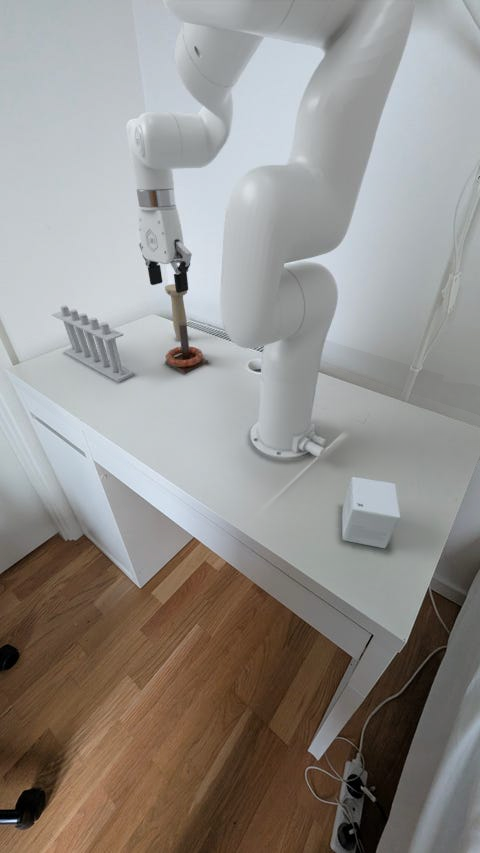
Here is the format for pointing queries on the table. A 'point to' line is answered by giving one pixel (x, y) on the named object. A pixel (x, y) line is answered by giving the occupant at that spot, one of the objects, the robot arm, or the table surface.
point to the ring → (184, 363)
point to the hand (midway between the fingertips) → (169, 287)
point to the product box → (370, 512)
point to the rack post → (185, 351)
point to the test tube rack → (93, 343)
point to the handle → (176, 307)
